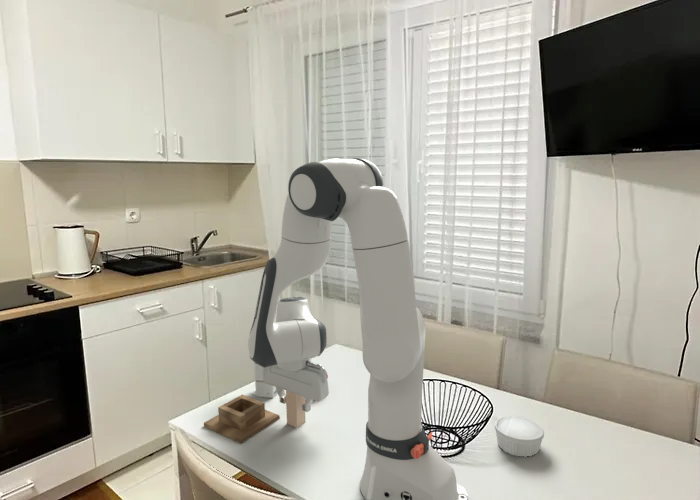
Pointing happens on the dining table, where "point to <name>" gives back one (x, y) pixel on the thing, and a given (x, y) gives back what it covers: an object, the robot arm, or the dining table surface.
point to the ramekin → (519, 435)
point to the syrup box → (263, 384)
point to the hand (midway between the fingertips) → (295, 406)
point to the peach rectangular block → (295, 409)
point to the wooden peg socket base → (241, 418)
